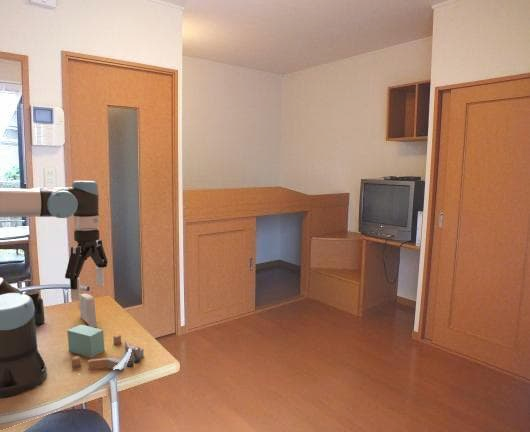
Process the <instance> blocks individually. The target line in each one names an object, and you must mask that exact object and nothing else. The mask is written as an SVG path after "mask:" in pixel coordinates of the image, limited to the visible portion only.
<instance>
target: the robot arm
mask: <svg viewBox="0 0 530 432" xmlns="http://www.w3.org/2000/svg"><path fill="white" fill-rule="evenodd" d="M99 196H100V195H99V187H98V183H97V182H96V180H94V181H93V180H74V181H73V182H72V185H71V186H69V187H68V186H67V187H58V186H57V187H53V186H52V187H51V186H50V187H49V186H48V187H46V186H45V187H43V186H39V187H32V188H28V189H27V188H1V187H0V218H33V217H34V218H36V217H40V218H49V217H51V218H54V217H55V218H57V219H68V218H70V217H73V228H74V230H73V239H74V241H75V242H77V246H71V247H70V255H69V260H68V263H67V267H66V271H65V274H64V278H65V279H68V280H70V281H69V282H70V283H69V284H70V295H71V296H70V298H71V300H72V299H74V300H79V299H81V294H82V293H81V278H79V277H80V273H81V271H82V269H83V266H84V264H85V263H86V262H85V261H87V260H88V258H91V259H92V261H93V262H94V264H95V266H96V267H95V268H94V269H95V276H94V277H95V287H104V286H105V269H104V268H107V267H108V258H107V255H106V252H105V249H104V247H103V240H102V239H101V238H100V229H99V227H100V215H99V213H100V212H99V210H100V209H99V206H100V205H99V200H100V199H99ZM34 312H35V307H34V304H33V300H32V298H31V297H30V296H28V295H26V294H24V293H23V292H22V291H21V290H19V289H18V288H16V287H14V286H12V285H11V284H10V283H9V282H8V281H7V280H6V279H4V277H0V399H1V398H6V397H7V398H8V397H12V396H13V397H14V396H17V395H20V394H23V393H26V392H28V391H30V390H32V389H35V388H36V387H38V386H39V385H40V384H41V383H43V382H44V381H45V379H46V378H47V375H48V371H47V365H46V363H45V361H44V359H43V357H42V355H41V353H40V352H39V349H38V341H37V340H38V339H37V329H36V327H37V326H35V316H34Z"/></svg>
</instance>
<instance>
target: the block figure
mask: <svg viewBox="0 0 530 432" xmlns="http://www.w3.org/2000/svg"><path fill="white" fill-rule="evenodd" d="M112 338H113V342H112V343H113V345H114V346H115V345H116V346H118V345H120V344H122V335H121V334H114V335H113V336H112ZM136 347H137V346H134V345H131V343H130V341H129V339H128V338H126V339H124V348H125V350H126V351H127V350H128V349H129V348H131V349H132V352H133V349H134V348H136ZM139 348H140V354H141V358H143V357H144V356H145V355H144V348H142V347H139ZM133 357H134V355H133ZM120 360H121V359H119V358H114V357H103V358H102V357H101V358H93V359H88V361H87V365H88V367H87V368H88V370H93V369H94V370H95V369H104V368H108V369H112V368H113V367H114V366H115V365H117V364H118V363H119V362H120ZM81 366H82V359H81V356H80V355H76V356H72V357H71V368H73V369H76V368H77V369H78V368H79V367H81Z"/></svg>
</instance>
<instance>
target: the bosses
mask: <svg viewBox="0 0 530 432" xmlns="http://www.w3.org/2000/svg"><path fill="white" fill-rule="evenodd" d="M135 347H136V348H134V349H133V352H131V356H130V359H129V361H128V363H127V365H125V366H126V368H127V369H130V368H133V367H134V365H135V364H139V363H141V361H142V360H141V358H142V357H141V354H140V348H141V347H140V346H135ZM133 355H134V356H133Z"/></svg>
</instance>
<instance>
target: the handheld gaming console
mask: <svg viewBox="0 0 530 432" xmlns="http://www.w3.org/2000/svg"><path fill="white" fill-rule="evenodd" d="M78 300H79V301H78V303H77V304H78V310H79V311H80V317H81V318H82V320H83V321H84V322H86V323H87V324H88V325H87V326H89V327H93V328H98V325H97V324H98V323H97V315H96V314H97V313H96V305H95V298H94V297H93V295H90V294H89V293H81V299H78Z"/></svg>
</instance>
